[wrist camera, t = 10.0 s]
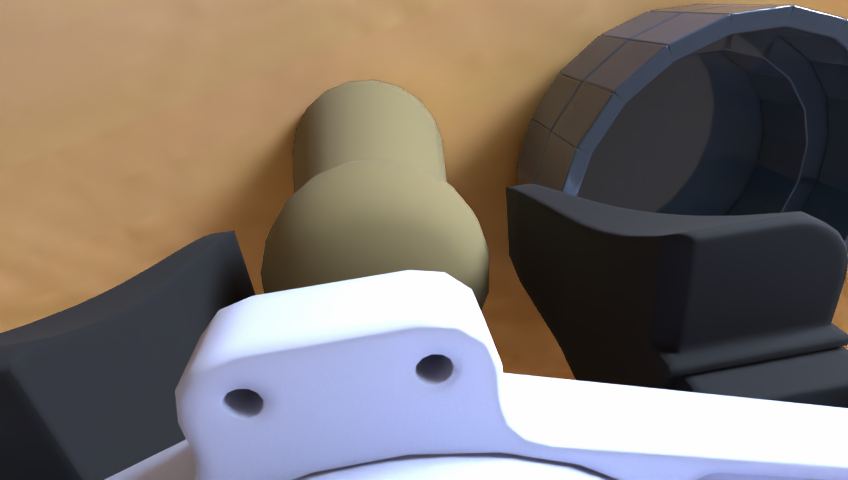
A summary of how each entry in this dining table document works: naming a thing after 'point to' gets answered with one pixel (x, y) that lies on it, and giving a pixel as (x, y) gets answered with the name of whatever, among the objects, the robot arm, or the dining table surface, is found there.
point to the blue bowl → (702, 115)
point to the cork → (371, 197)
